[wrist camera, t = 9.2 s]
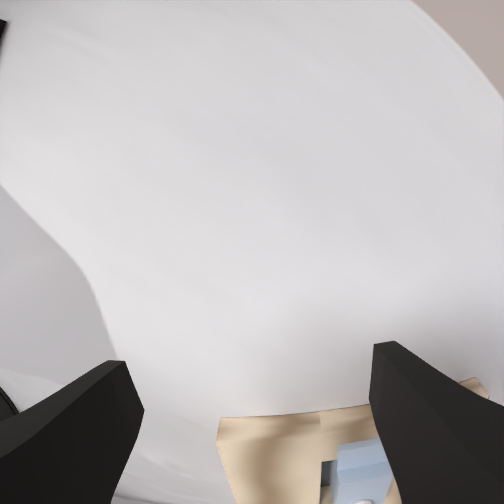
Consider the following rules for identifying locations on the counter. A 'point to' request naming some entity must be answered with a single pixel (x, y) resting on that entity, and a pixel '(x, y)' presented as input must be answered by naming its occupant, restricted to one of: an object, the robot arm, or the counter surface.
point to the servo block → (360, 473)
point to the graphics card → (2, 26)
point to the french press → (6, 407)
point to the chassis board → (294, 452)
